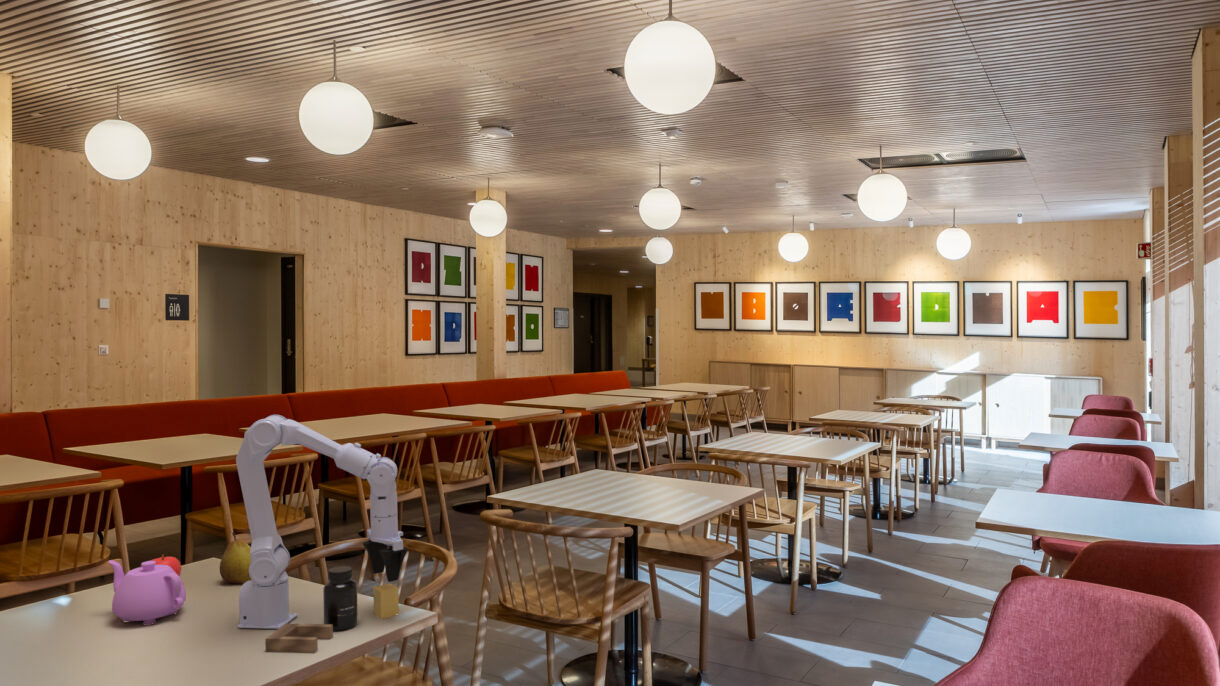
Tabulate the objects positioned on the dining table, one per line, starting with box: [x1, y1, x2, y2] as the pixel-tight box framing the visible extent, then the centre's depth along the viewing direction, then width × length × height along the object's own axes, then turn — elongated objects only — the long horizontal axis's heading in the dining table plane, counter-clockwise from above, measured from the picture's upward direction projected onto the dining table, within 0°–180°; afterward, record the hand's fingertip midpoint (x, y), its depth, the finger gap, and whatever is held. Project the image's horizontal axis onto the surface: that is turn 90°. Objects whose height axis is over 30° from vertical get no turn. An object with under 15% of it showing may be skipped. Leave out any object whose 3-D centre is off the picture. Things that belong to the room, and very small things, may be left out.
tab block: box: [372, 582, 400, 620], centre depth 177 cm, size 4×4×6 cm
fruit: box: [219, 531, 252, 585], centre depth 202 cm, size 9×9×12 cm
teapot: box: [108, 559, 187, 625], centre depth 178 cm, size 20×14×12 cm
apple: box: [150, 553, 182, 578], centre depth 199 cm, size 8×8×8 cm
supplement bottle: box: [322, 565, 359, 632], centre depth 170 cm, size 7×7×12 cm
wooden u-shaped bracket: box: [264, 623, 334, 654], centre depth 161 cm, size 10×8×2 cm
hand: (385, 576), depth 177 cm, fingers open, 7 cm apart
